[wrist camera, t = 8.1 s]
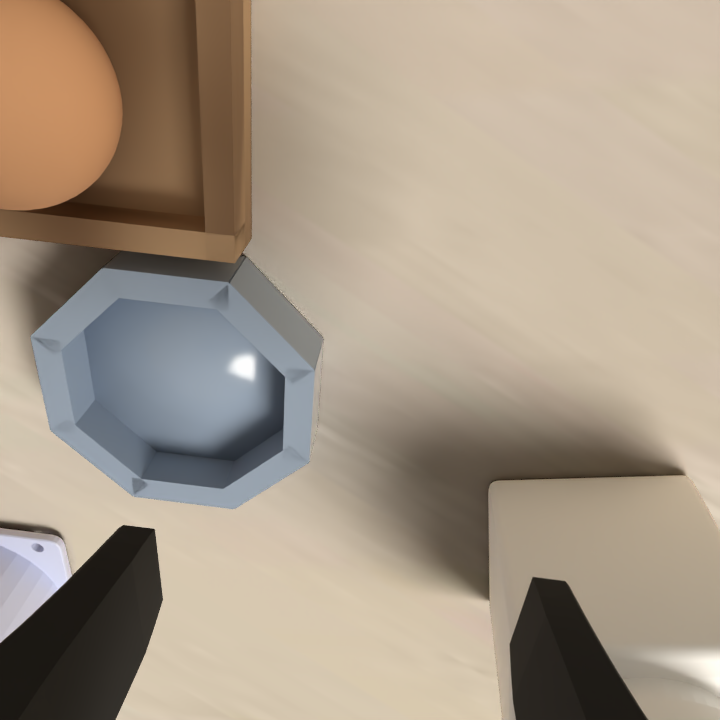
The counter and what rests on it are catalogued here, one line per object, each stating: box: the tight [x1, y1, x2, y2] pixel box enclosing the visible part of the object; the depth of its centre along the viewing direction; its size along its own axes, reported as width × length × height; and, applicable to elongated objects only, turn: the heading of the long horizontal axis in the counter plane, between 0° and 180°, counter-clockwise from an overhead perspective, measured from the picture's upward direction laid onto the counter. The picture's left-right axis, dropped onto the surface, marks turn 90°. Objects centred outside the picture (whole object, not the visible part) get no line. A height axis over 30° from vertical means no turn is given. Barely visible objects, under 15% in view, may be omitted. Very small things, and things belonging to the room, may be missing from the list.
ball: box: [0, 0, 123, 210], centre depth 14 cm, size 5×5×5 cm
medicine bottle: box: [488, 475, 720, 720], centre depth 19 cm, size 7×7×12 cm
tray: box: [0, 0, 252, 263], centre depth 16 cm, size 10×8×2 cm
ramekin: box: [31, 251, 324, 509], centre depth 21 cm, size 9×9×2 cm
